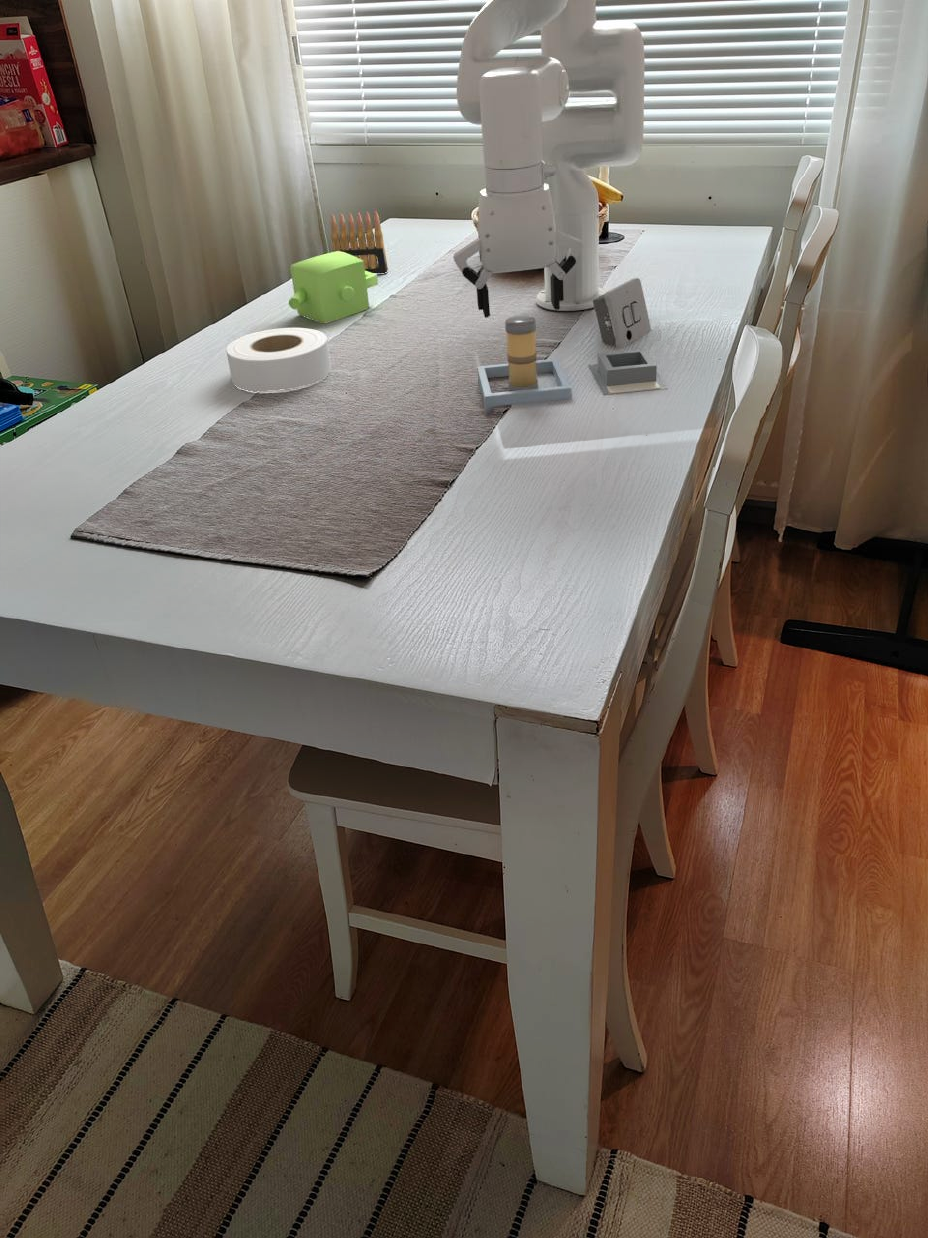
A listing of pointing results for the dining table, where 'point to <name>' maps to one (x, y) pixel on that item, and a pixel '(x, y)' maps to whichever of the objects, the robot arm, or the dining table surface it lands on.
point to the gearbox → (330, 286)
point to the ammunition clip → (361, 241)
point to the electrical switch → (622, 314)
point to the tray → (522, 395)
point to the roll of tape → (278, 359)
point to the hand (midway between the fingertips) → (520, 310)
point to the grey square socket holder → (626, 372)
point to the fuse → (521, 353)
